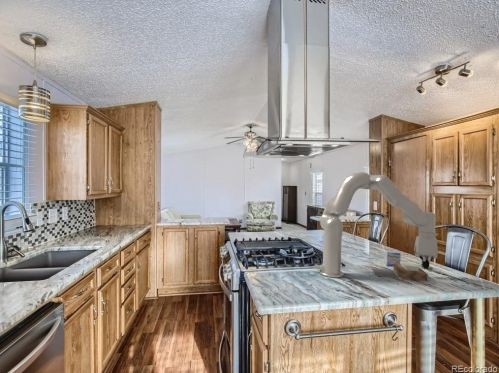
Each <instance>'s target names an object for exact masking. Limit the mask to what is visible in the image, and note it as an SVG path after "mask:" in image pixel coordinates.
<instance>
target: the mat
mask: <svg viewBox="0 0 499 373" xmlns="http://www.w3.org/2000/svg"><path fill="white" fill-rule="evenodd" d="M371 269H372V271H373V272H374V274H375V276H377V277H379V278H380V277H381V278H382V277H383V278H391V279H392V278H393V279H400V277H399V276H398V274H397V273H396V272H395V271H394V270H393V269H386V268H384V269H383V268H374V267H373V268H371Z"/></svg>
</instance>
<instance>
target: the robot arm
mask: <svg viewBox="0 0 499 373" xmlns="http://www.w3.org/2000/svg"><path fill="white" fill-rule="evenodd" d="M359 189H361V190H373V191H374V190H375V191H378V192H379V194H380V195H381V196H382V197H383V198H384V199H385V200H386V202H387V203H388V204H390V206H392V207H395V208H396V209H398V210H400V211H402V212H403V214H402V215H401V220H402V221H403V222H404V223H405V224H406V225H410V226H413V227H414V226H415V227H418V234H417V236H416V238H415V242H414V248H413V249H414V257H416V258H418V259H419V258H420V260H421V266H422V268H423V269H424V270H429V268H430V262H431V261H432V260H434V259H435V260H436V259H438V253H439V252H438V251H439V250H438V242H437V241H438V240H437V238H436V237H438V235H439V233H437V232H436V213H434V212H430V211H424V210H423V209H422V208H421V207H420V206H419V205H418V204H417V203H415V202H414V201H413V200H411V199H410V198H409V197H408V196H407V195H405V194H403V192H402V191H401V190H400V189H399V188H398V186H396V184H395V183H394V182H393V181H392V180H391V179H390V177H388V176H387V175H385V174H369V173H367V172H363V171H362V172H355V173H351V175H349V176H347V177H346V178H345V179H343V181H342V182H341V184H340V186H339V187H338V189H337V191H336V194H335V196H334V197H331V198H330V199H329V200H328V201H327V202H326V204H325V207H324V210H323V213H322V215H321V218H320V221H319V224H320V226H321V229H323V231H324V232H323V242H322V245H323V247H322V248H323V249H322V263H321V264H320V265H318V264H314V266H313V267H314V268H313V269H316V270H319V274H320V275H322V276H324V277H329V278H342V277H343V276H344V274H345V272H343V271H342V270H341V269H342V238H343V231H344V225H343V222H342V220H341V219H340V217H341V216H344V215H346V213H347V212H348V211H349V208H350V205H351V202H352V201H353V197H354V196H355V193H356V192H357V191H358V190H359Z"/></svg>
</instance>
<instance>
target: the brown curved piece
mask: <svg viewBox="0 0 499 373" xmlns="http://www.w3.org/2000/svg"><path fill="white" fill-rule="evenodd" d="M392 270H393V272H394V273H395V274H396V275H397V276H398V277H399V279H401V280H408V281H410V280H411V281H416V282H417V281H419V282H428V274H429V273H428V272H426V271H425V270H423V269H422V268H420V267H419V271H410V270H405V269H404V268H403V267H402V266H401V263H400V264H396V263H394V267H392Z"/></svg>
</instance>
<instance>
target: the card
mask: <svg viewBox="0 0 499 373" xmlns="http://www.w3.org/2000/svg"><path fill="white" fill-rule="evenodd" d="M400 264H401V266H402V267H403V268H404V269H405V270H410V271H419V268H420V266H419V265H417V264H416V263H415V262H413V261H401V260H400Z"/></svg>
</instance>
